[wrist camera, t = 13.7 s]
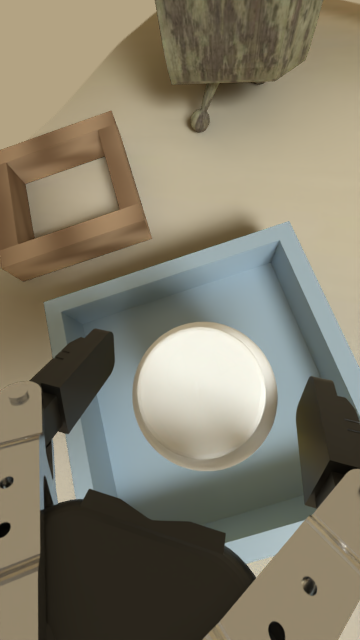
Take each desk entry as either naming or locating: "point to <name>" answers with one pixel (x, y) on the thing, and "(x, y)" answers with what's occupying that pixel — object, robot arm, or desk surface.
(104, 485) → the tray
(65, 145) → the holder
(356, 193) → the desk surface
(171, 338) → the supplement bottle
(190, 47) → the tabletop clock
